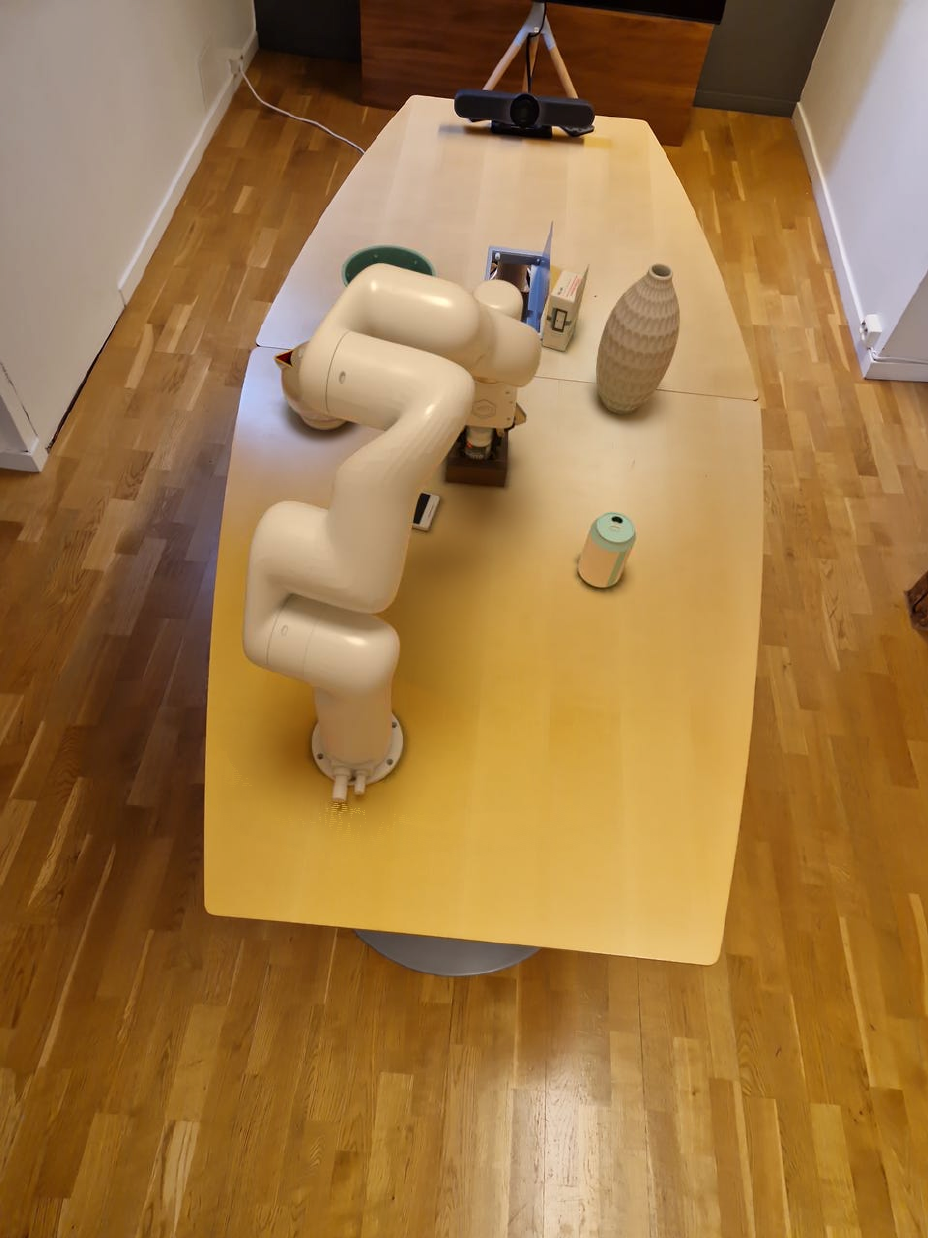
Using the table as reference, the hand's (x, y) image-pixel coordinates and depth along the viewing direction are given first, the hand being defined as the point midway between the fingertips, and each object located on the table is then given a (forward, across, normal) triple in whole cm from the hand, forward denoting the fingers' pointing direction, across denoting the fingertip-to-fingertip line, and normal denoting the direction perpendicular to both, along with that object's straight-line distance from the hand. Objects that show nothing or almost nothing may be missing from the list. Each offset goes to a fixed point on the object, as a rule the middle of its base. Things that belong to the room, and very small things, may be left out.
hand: (478, 444), depth 138 cm
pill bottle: (+4, 0, 0) cm, 4 cm away
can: (+5, +21, -21) cm, 30 cm away
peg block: (+4, 0, 0) cm, 4 cm away
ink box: (+5, +15, +35) cm, 38 cm away
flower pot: (+5, -18, +27) cm, 33 cm away
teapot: (+5, -26, +8) cm, 28 cm away
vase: (+5, +26, +18) cm, 32 cm away
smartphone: (+5, -14, -11) cm, 18 cm away
